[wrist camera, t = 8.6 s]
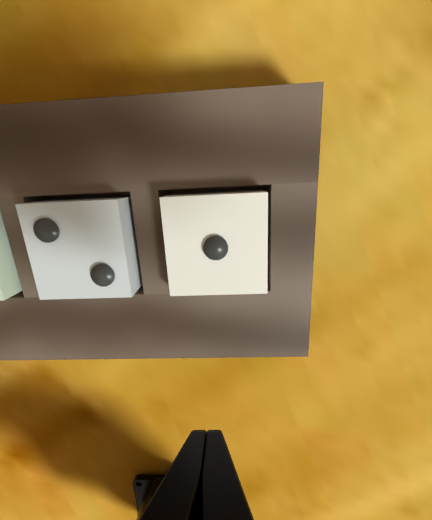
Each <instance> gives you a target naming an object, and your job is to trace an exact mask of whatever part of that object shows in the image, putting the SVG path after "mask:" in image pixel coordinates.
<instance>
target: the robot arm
mask: <svg viewBox="0 0 432 520" xmlns="http://www.w3.org/2000/svg"><path fill="white" fill-rule="evenodd" d="M133 487H134V492H135V497H136V503H137V508H138V517H137V520H254V519H253V516H252V513H251V511H250V508H249V505H248V502H247V500H246V497H245V494H244V491H243V489H242V486H241V483H240V480H239V478H238V475H237V472H236V469H235V467H234V464H233V461H232V458H231V455H230V453H229V450H228V447H227V444H226V442H225V439H224V436H223V433H222V431H221V430H208V431H207V432H206V431H205V430H193V431H192V432H191V433H190V435H189V437H188V438H187V440H186V442H185V443H184V445H183V447H182V448H181V450H180V452H179V453H178V455H177V457H176V458H175V460H174V462H173V463H172V465H171V467H170V468H169V470H168V472H167V473H166V475H137V476H135V478H134V481H133Z"/></svg>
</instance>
